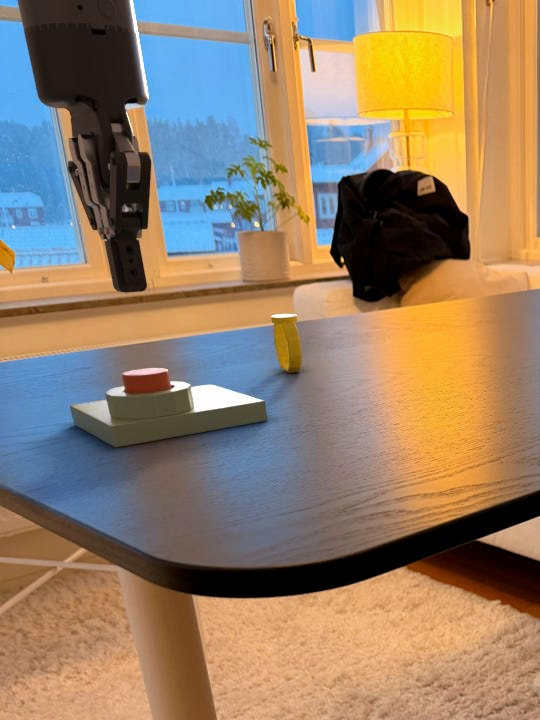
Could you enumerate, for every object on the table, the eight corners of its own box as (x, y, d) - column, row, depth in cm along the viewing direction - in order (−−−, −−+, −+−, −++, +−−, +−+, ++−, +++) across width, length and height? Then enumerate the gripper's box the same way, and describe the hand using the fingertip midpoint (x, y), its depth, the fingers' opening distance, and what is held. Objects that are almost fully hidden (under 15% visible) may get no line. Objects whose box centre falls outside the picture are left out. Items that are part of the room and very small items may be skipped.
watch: (271, 368, 102) (264, 314, 99) (295, 366, 103) (288, 312, 100) (286, 375, 97) (278, 318, 94) (310, 372, 98) (303, 316, 95)
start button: (134, 399, 70) (129, 377, 70) (120, 393, 73) (115, 372, 72) (178, 393, 72) (174, 371, 72) (163, 387, 75) (159, 366, 74)
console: (115, 447, 69) (105, 402, 68) (73, 424, 78) (64, 384, 76) (268, 420, 76) (262, 379, 74) (214, 402, 85) (207, 364, 83)
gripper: (3, 38, 65) (60, 291, 72) (47, 5, 55) (107, 300, 63) (107, 46, 69) (150, 284, 76) (166, 15, 59) (208, 292, 67)
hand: (131, 291), depth 70 cm, fingers closed
